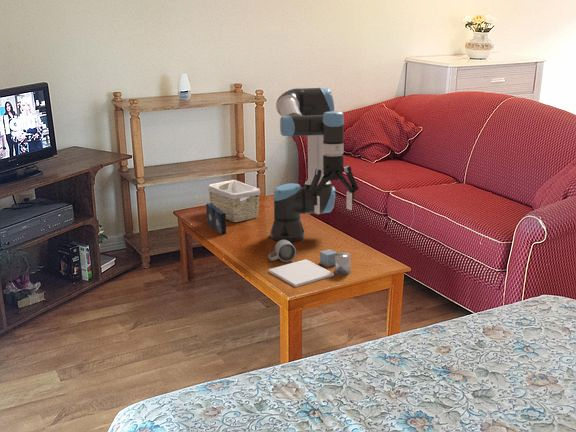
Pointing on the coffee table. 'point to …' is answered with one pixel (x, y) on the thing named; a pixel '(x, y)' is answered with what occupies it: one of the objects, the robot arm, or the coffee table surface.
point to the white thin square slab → (301, 272)
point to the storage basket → (235, 200)
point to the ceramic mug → (283, 251)
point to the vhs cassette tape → (216, 218)
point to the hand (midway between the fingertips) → (333, 211)
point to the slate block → (327, 257)
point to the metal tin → (342, 263)
